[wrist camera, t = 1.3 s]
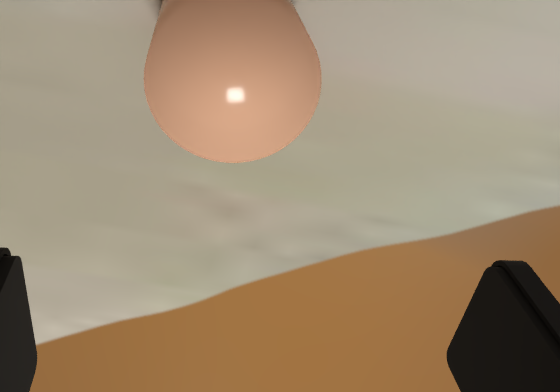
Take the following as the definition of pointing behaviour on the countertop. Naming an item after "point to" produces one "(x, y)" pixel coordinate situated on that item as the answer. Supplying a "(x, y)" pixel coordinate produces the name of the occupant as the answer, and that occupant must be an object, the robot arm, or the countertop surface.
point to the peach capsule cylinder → (231, 76)
